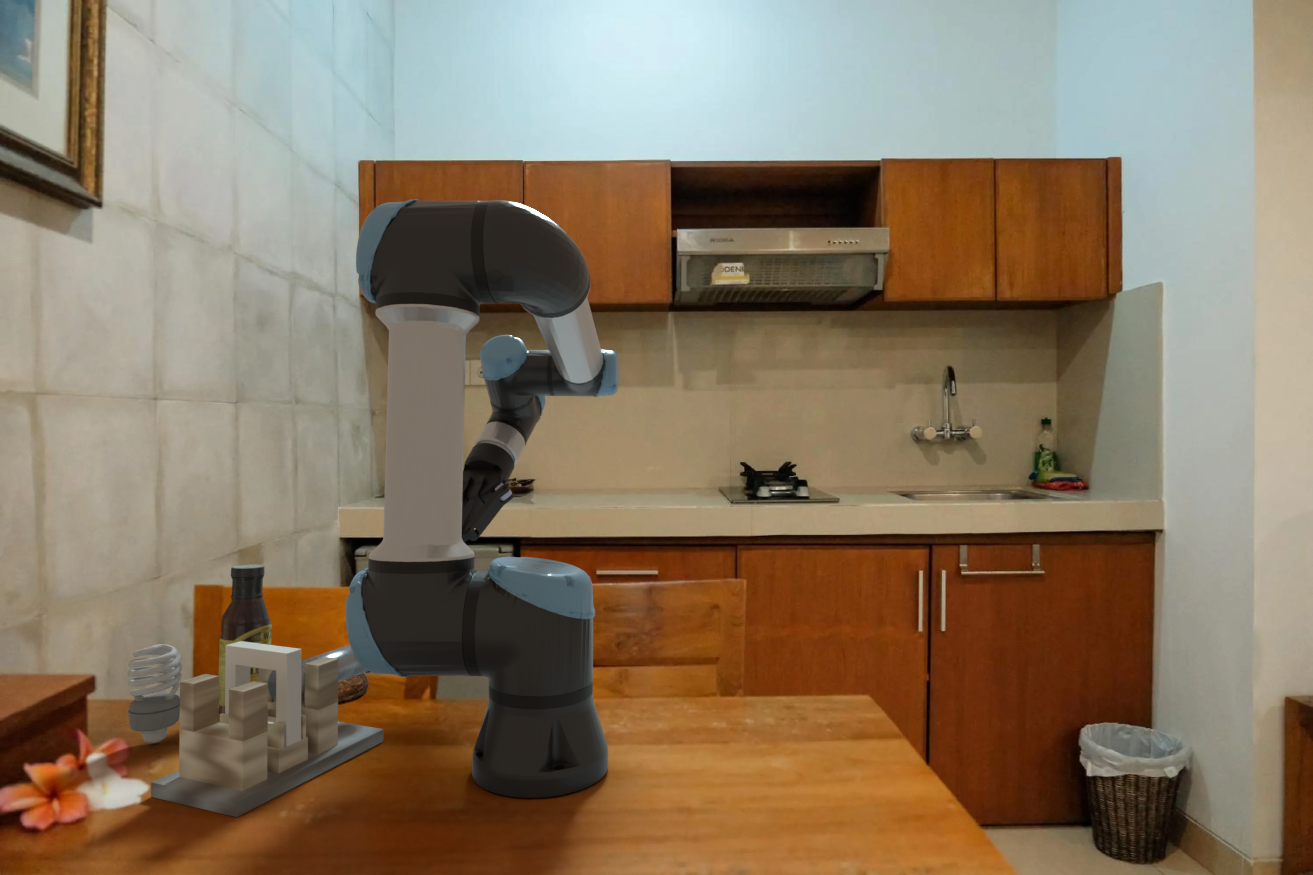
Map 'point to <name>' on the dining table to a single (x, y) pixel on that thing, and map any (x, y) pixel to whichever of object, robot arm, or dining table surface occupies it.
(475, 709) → the dining table surface
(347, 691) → the bread roll
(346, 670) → the shaft
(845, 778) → the dining table surface
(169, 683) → the light bulb
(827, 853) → the dining table surface
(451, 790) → the dining table surface
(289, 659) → the grey arch-shaped block
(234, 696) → the grey block assembly base
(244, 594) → the sauce bottle
